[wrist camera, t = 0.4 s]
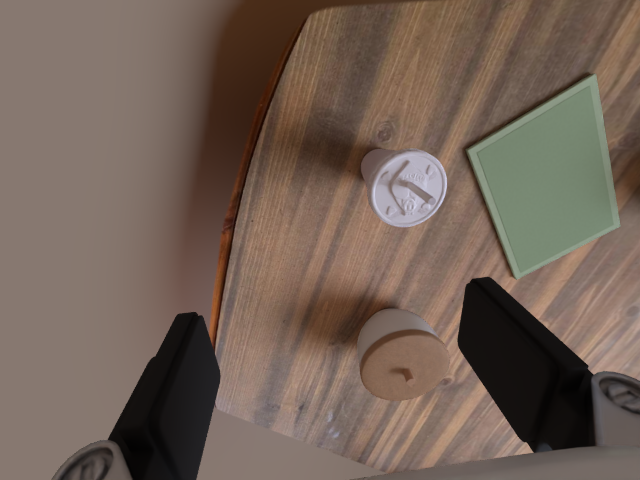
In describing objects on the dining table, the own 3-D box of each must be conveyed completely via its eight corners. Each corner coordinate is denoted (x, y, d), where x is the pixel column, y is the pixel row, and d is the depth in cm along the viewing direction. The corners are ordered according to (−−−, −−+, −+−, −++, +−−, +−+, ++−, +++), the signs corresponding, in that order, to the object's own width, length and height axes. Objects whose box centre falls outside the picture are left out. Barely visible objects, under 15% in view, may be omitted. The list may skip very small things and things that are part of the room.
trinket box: (359, 362, 45) (374, 423, 37) (341, 307, 41) (354, 362, 32) (428, 342, 45) (461, 399, 36) (418, 284, 40) (453, 334, 32)
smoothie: (406, 131, 32) (483, 154, 19) (406, 190, 35) (473, 245, 22) (346, 139, 32) (384, 168, 19) (350, 198, 34) (386, 257, 22)
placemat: (465, 149, 33) (467, 150, 33) (591, 73, 31) (596, 73, 31) (513, 278, 41) (516, 280, 41) (616, 224, 39) (620, 226, 39)
